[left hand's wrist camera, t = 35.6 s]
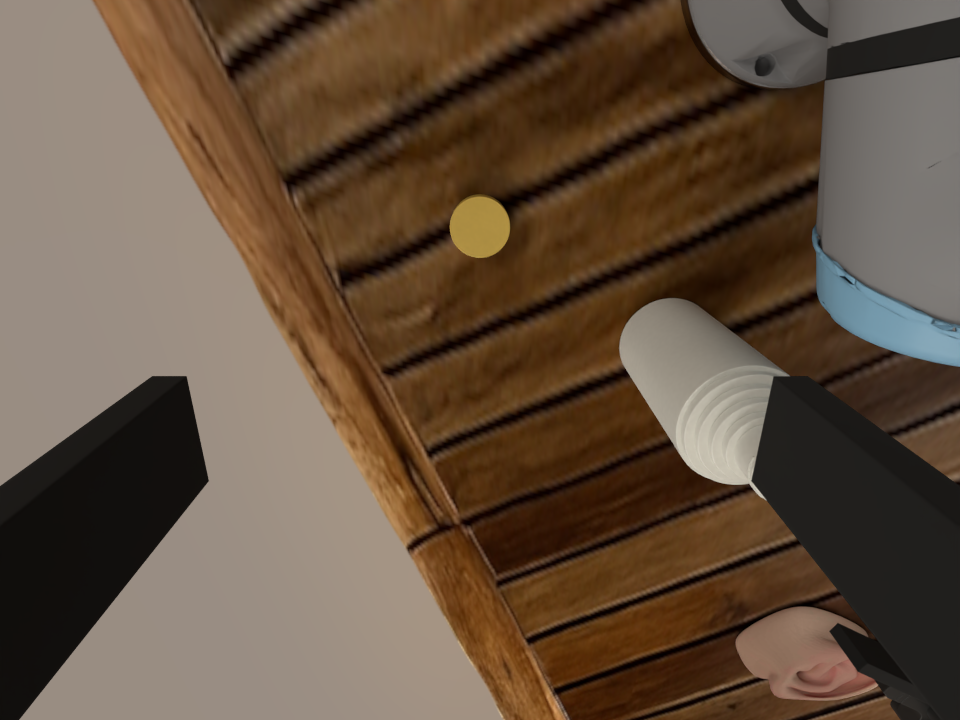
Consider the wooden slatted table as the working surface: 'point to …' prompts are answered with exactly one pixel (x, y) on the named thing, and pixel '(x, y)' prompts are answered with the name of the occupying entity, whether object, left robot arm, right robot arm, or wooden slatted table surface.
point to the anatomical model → (802, 655)
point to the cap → (480, 226)
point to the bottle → (700, 386)
